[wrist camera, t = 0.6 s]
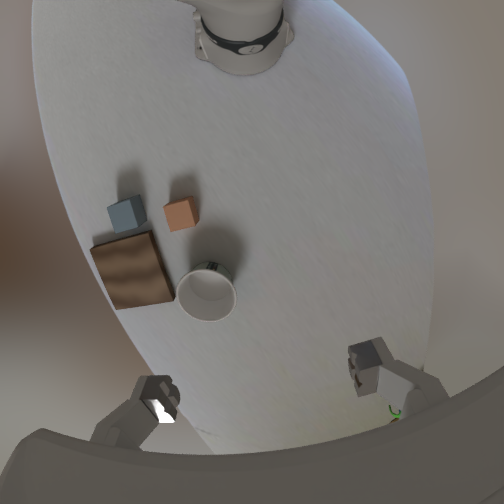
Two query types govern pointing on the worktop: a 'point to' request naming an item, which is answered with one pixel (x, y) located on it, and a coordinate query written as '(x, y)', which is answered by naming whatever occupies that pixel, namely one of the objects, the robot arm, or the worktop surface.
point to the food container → (207, 293)
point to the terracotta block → (181, 214)
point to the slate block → (127, 214)
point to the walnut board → (133, 271)
